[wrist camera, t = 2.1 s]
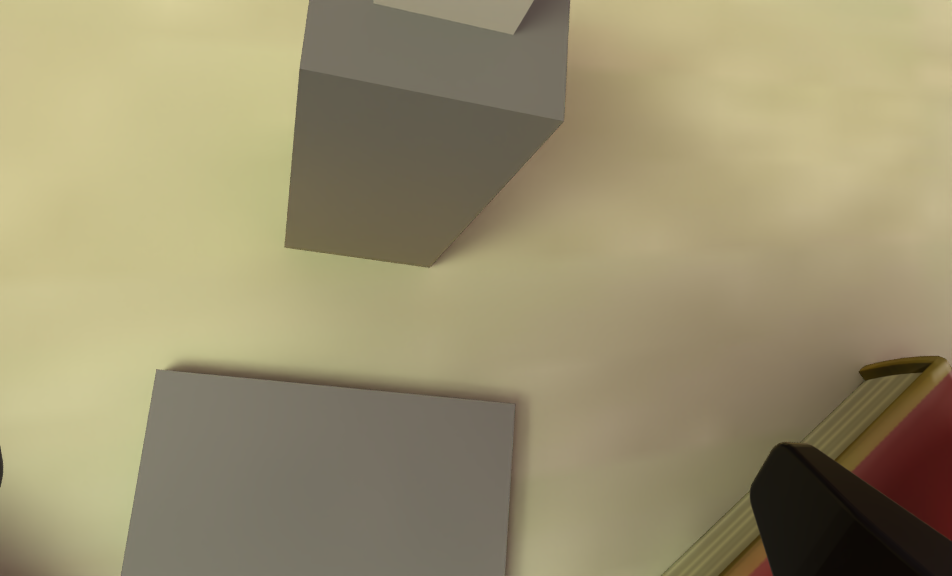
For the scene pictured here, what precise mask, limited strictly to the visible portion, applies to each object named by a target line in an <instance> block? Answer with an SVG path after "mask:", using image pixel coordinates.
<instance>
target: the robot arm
mask: <svg viewBox="0 0 952 576" xmlns="http://www.w3.org/2000/svg"><path fill="white" fill-rule="evenodd" d="M2 477H3V460H2V454H1V448H0V487H1V482H2ZM750 503H751V507H752V510H753V513H754V517H755V520H756V523H757V526H758V530H759V533H760V536H761V539H762V542H763V546H764V549H765V552H766V555H767V558H768V562H769V565H770V568H771V571H772V575H773V576H952V541H951V540H949V539H948V538H947V537H945V536H944V535H942V534H941V533H939V532H938V531H936V530H935V529H933V528H932V527H931V526H929V525H928V524H926V523H925V522H923V521H922V520H920V519H919V518H917V517H916V516H915V515H913V514H912V513H910V512H909V511H907V510H906V509H904V508H903V507H901V506H900V505H899V504H897V503H896V502H894V501H893V500H891V499H890V498H888V497H887V496H886V495H884V494H883V493H881V492H880V491H878V490H877V489H875V488H874V487H872V486H871V485H870V484H868V483H867V482H865V481H864V480H862V479H861V478H859V477H858V476H856V475H855V474H854V473H852V472H851V471H849V470H848V469H846V468H845V467H843V466H842V465H841V464H839V463H838V462H836V461H835V460H833V459H832V458H830V457H829V456H827V455H826V454H825V453H823V452H822V451H820V450H819V449H817V448H816V447H814V446H812V445H810V444H807V443H793V442H782V443H779V444H777V445H776V446H775V447H774V448H773V449H772V450H771V452H770V454H769V455H768V457H767V459H766V460H765V462H764V464H763V466H762V467H761V469H760V471H759V472H758V474H757V476H756V478H755V479H754V481H753V483H752V485H751V489H750Z"/></svg>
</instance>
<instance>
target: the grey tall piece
mask: <svg viewBox="0 0 952 576" xmlns="http://www.w3.org/2000/svg"><path fill="white" fill-rule="evenodd" d="M569 11H570V0H309V6H308V13H307V20H306V27H305V34H304V41H303V48H302V55H301V62H300V70H299V82H298V94H297V106H296V118H295V129H294V141H293V153H292V165H291V177H290V188H289V200H288V212H287V224H286V236H285V247H286V248H293V249H300V250H307V251H315V252H322V253H329V254H336V255H343V256H350V257H357V258H365V259H372V260H379V261H386V262H393V263H400V264H408V265H415V266H422V267H430V266H431V265H432V264H433V263H434V262H435V261H436V260H437V259H438V258H439V257H440V256H441V254H442V253H443V252H444V251H445V250H446V249H447V248H448V247H449V246H450V245H451V244H452V242H453V241H454V240H455V239H456V238H457V237H458V236H459V235H460V234H461V233H462V232H463V230H464V229H465V228H466V227H467V226H468V225H469V224H470V223H471V222H472V221H473V220H474V219H475V217H476V216H477V215H478V214H479V213H480V212H481V211H482V210H483V209H484V208H485V207H486V205H487V204H488V203H489V202H490V201H491V200H492V199H493V198H494V197H495V196H496V195H497V193H498V192H499V191H500V190H501V189H502V188H503V187H504V186H505V185H506V184H507V183H508V182H509V180H510V179H511V178H512V177H513V176H514V175H515V174H516V173H517V172H518V171H519V170H520V168H521V167H522V166H523V165H524V164H525V163H526V162H527V161H528V160H529V159H530V158H531V156H532V155H533V154H534V153H535V152H536V151H537V150H538V149H539V148H540V147H541V146H542V145H543V143H544V142H545V141H546V140H547V139H548V138H549V137H550V136H551V135H552V134H553V133H554V131H555V130H556V129H557V128H558V127H559V126H560V125H561V124H562V123H563V122H564V111H565V91H566V71H567V51H568V31H569Z"/></svg>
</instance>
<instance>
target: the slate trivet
mask: <svg viewBox="0 0 952 576" xmlns="http://www.w3.org/2000/svg"><path fill="white" fill-rule="evenodd" d="M514 418H515V404H512V403H502V402H491V401H481V400H470V399H460V398H449V397H439V396H429V395H418V394H408V393H397V392H387V391H377V390H366V389H356V388H345V387H335V386H324V385H314V384H304V383H293V382H283V381H272V380H262V379H251V378H241V377H231V376H220V375H210V374H199V373H189V372H179V371H168V370H158V369H156V375H155V381H154V386H153V392H152V398H151V404H150V410H149V415H148V421H147V427H146V433H145V439H144V444H143V450H142V456H141V462H140V467H139V473H138V479H137V485H136V491H135V496H134V502H133V508H132V514H131V520H130V525H129V531H128V537H127V543H126V549H125V554H124V560H123V566H122V572H121V576H505V566H506V550H507V533H508V517H509V500H510V484H511V467H512V451H513V434H514Z"/></svg>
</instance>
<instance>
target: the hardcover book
mask: <svg viewBox="0 0 952 576" xmlns="http://www.w3.org/2000/svg"><path fill="white" fill-rule="evenodd" d="M859 373H860V375H861V376H862V377H863V379H864V380H865V381H864V382H863V383H862V384H861V385H860V386H859V387H858V388H857V389H856V390H855V391H854V392H852V393H851V394H850V395H849V396H848V397H847V398H846V399H845V400H844V401H843V402H842V403H841V404H840V405H839V406H838V407H837V408H836V409H835V410H834V411H833V412H832V413H831V414H829V415H828V416H827V417H826V418H825V419H824V420H823V421H822V422H821V423H820V424H819V425H818V426H817V427H816V428H815V429H814V430H813V431H812V432H811V433H810V434H809V435H808V436H806V437H805V438H804V439H803V440H802V441H801V442H800V443H807V444H810V445H812V446H814V447H816V448H817V449H819V450H820V451H822V452H823V453H825V454H826V455H827V456H829V457H830V458H832V459H833V460H835V461H836V462H838V463H839V464H841V465H842V466H843V467H845V468H846V469H848V470H849V471H851V472H852V473H854V474H855V475H856V476H858V477H859V478H861V479H862V480H864V481H865V482H867V483H868V484H870V485H871V486H872V487H874V488H875V489H877V490H878V491H880V492H881V493H883V494H884V495H886V496H887V497H888V498H890V499H891V500H893V501H894V502H896V503H897V504H899V505H900V506H901V507H903V508H904V509H906V510H907V511H909V512H910V513H912V514H913V515H915V516H916V517H917V518H919V519H920V520H922V521H923V522H925V523H926V524H928V525H929V526H931V527H932V528H933V529H935V530H936V531H938V532H939V533H941V534H942V535H944V536H945V537H947V538H948V539H949V540H951V541H952V368H951V366H950V365H949V363H948V362H947V360H946V359H945V358H942V357H940V356H920V357H909V358H900V359H894V360H888V361H883V362H879V363H874V364H870V365H866V366H864V367H863V368H862V369H861V370H860V371H859ZM661 576H773V575H772V571H771V568H770V565H769V562H768V558H767V555H766V552H765V549H764V546H763V542H762V539H761V536H760V533H759V530H758V526H757V523H756V520H755V517H754V513H753V510H752V507H751V503H750V491H749V492H748V493H747V494H746V495H745V496H744V497H743V498H742V499H741V500H740V501H739V502H737V503H736V504H735V505H734V506H733V507H732V508H731V509H730V510H729V511H728V512H727V513H726V514H725V515H724V516H723V517H722V518H721V519H720V520H719V521H718V522H717V523H716V524H714V525H713V526H712V527H711V528H710V529H709V530H708V531H707V532H706V533H705V534H704V535H703V536H702V537H701V538H700V539H699V540H698V541H697V542H696V543H695V544H694V545H693V546H691V547H690V548H689V549H688V550H687V551H686V552H685V553H684V554H683V555H682V556H681V557H680V558H679V559H678V560H677V561H676V562H675V563H674V564H673V565H672V566H671V567H670V568H668V569H667V570H666V571H665V572H664V573H663V574H662V575H661Z"/></svg>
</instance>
